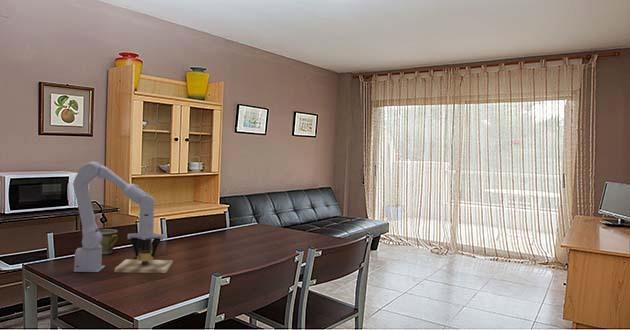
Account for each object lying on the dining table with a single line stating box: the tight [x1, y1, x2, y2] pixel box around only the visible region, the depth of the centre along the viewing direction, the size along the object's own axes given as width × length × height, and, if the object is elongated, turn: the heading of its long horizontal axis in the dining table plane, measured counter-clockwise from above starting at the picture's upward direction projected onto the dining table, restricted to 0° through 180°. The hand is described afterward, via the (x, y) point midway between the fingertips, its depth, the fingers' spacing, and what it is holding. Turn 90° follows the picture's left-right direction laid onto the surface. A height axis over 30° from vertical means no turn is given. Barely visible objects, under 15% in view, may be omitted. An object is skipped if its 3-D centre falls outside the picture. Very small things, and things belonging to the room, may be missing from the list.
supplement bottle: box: [134, 239, 153, 259], centre depth 200 cm, size 7×7×12 cm
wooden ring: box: [136, 250, 154, 261], centre depth 185 cm, size 6×6×3 cm
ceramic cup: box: [99, 228, 119, 255], centre depth 205 cm, size 13×10×10 cm
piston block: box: [114, 253, 174, 274], centre depth 185 cm, size 20×14×6 cm
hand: (145, 256), depth 185 cm, fingers closed on wooden ring, 6 cm apart
